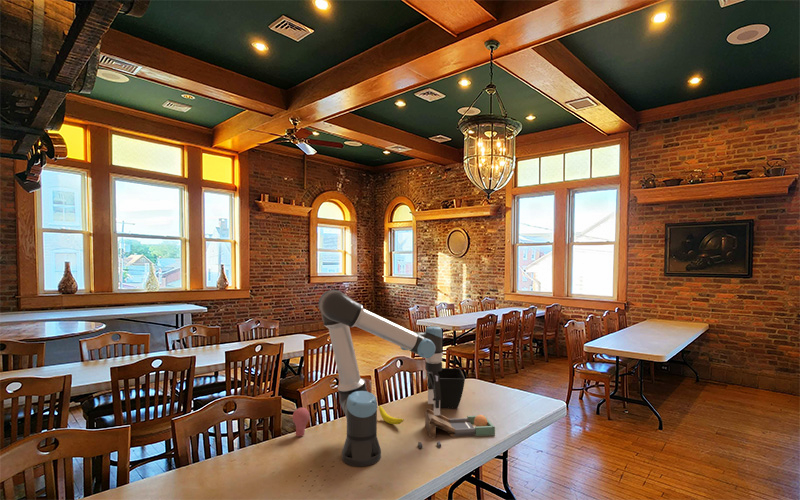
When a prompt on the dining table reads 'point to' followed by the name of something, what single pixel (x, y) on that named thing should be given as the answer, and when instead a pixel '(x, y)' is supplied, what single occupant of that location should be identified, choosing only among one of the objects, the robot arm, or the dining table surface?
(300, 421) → the light bulb
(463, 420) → the runway
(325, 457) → the dining table surface
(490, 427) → the green open tray
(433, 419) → the ramp
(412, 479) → the dining table surface
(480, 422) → the ball
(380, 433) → the dining table surface
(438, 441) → the grey flat pieces
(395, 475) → the dining table surface
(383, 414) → the banana
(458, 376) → the flower pot
